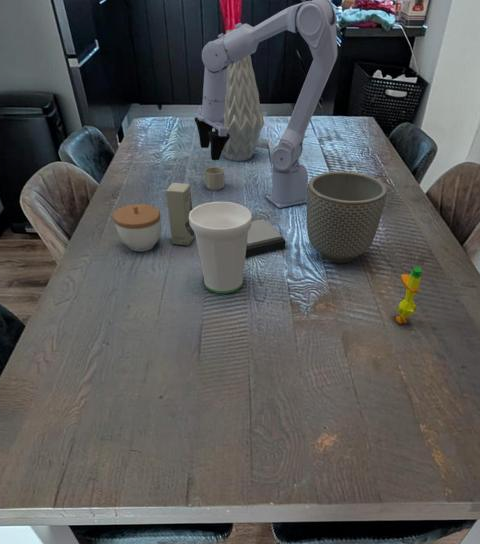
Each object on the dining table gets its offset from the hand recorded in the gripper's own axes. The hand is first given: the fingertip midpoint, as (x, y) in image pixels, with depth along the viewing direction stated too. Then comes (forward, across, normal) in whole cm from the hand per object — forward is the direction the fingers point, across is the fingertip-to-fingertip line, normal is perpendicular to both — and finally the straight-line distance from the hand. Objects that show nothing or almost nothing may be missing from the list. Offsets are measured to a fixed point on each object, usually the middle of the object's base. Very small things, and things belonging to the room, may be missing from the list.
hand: (209, 153), depth 132 cm
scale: (+6, +35, -3) cm, 35 cm away
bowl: (+10, 0, +2) cm, 10 cm away
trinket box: (+10, +25, -28) cm, 38 cm away
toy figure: (0, +76, +10) cm, 77 cm away
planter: (+3, +49, +13) cm, 50 cm away
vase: (+10, -20, +20) cm, 30 cm away
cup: (+6, +49, -17) cm, 52 cm away
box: (+9, +27, -18) cm, 33 cm away
